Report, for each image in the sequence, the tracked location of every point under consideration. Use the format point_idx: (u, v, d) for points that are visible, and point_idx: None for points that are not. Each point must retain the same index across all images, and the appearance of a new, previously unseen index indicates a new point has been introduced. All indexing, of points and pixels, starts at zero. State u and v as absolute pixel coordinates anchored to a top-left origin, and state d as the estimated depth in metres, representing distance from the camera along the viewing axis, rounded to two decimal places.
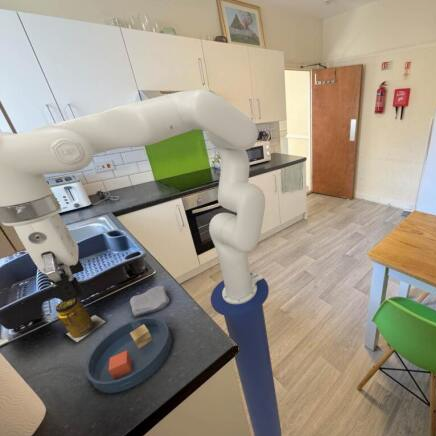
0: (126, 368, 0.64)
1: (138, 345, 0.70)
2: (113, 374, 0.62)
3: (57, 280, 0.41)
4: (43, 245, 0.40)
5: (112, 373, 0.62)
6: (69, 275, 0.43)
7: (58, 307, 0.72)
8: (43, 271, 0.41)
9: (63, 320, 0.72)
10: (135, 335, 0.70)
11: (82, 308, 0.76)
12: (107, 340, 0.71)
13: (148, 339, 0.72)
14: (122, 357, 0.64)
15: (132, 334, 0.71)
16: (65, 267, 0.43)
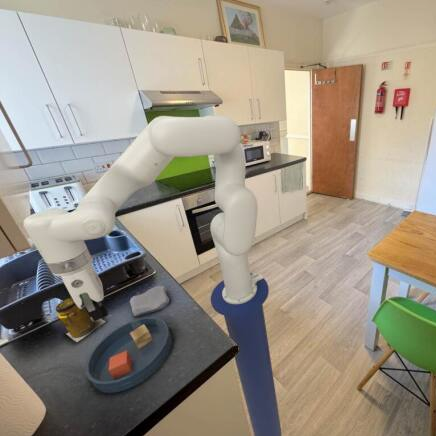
0: (126, 368, 0.64)
1: (138, 345, 0.70)
2: (113, 374, 0.62)
3: None
4: (81, 288, 0.55)
5: (112, 373, 0.62)
6: (99, 305, 0.61)
7: (58, 307, 0.72)
8: (80, 307, 0.56)
9: (63, 320, 0.72)
10: (135, 335, 0.70)
11: None
12: (107, 340, 0.71)
13: (148, 339, 0.72)
14: (122, 357, 0.64)
15: (132, 334, 0.71)
16: None
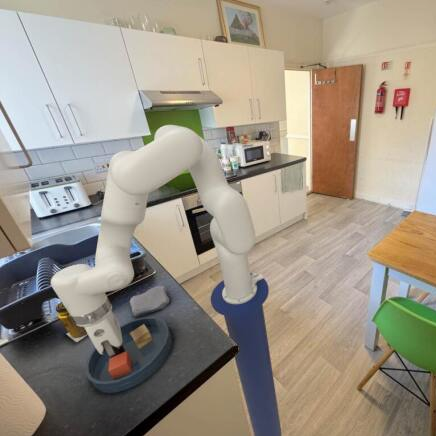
0: (126, 369, 0.64)
1: (138, 345, 0.70)
2: (113, 375, 0.62)
3: None
4: (102, 337, 0.59)
5: (112, 374, 0.62)
6: (118, 347, 0.65)
7: (58, 307, 0.72)
8: (101, 353, 0.60)
9: (63, 320, 0.72)
10: (135, 335, 0.70)
11: None
12: None
13: (148, 339, 0.72)
14: (122, 358, 0.64)
15: (132, 334, 0.71)
16: None
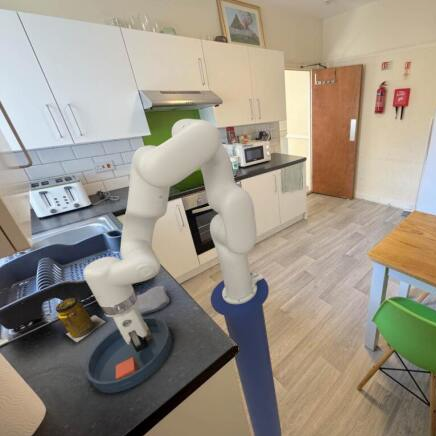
0: None
1: None
2: None
3: None
4: (130, 327, 0.61)
5: None
6: (142, 338, 0.67)
7: (58, 307, 0.72)
8: (128, 343, 0.62)
9: (63, 320, 0.72)
10: None
11: (82, 308, 0.76)
12: (107, 340, 0.71)
13: (148, 337, 0.73)
14: (129, 364, 0.62)
15: None
16: None
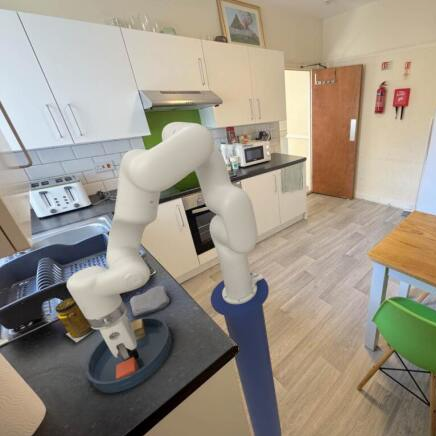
0: None
1: None
2: None
3: None
4: (117, 340, 0.58)
5: None
6: (132, 350, 0.64)
7: (58, 308, 0.72)
8: (116, 356, 0.59)
9: (63, 320, 0.72)
10: None
11: None
12: None
13: (141, 335, 0.74)
14: (129, 364, 0.62)
15: None
16: None
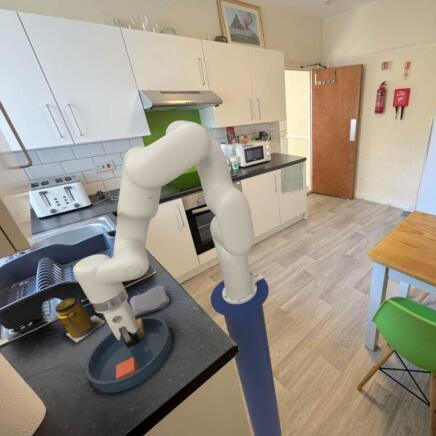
0: None
1: None
2: None
3: None
4: (120, 323, 0.62)
5: None
6: (133, 334, 0.68)
7: (58, 308, 0.72)
8: (118, 339, 0.63)
9: (63, 320, 0.72)
10: None
11: (82, 308, 0.76)
12: (107, 340, 0.71)
13: (140, 334, 0.74)
14: (129, 364, 0.62)
15: None
16: None
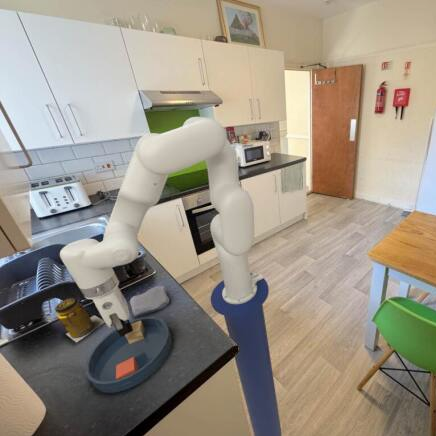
0: None
1: (129, 340, 0.72)
2: None
3: None
4: (110, 310, 0.60)
5: None
6: (126, 322, 0.67)
7: (57, 308, 0.72)
8: (109, 326, 0.61)
9: (63, 320, 0.72)
10: None
11: (82, 308, 0.75)
12: (107, 340, 0.71)
13: (139, 337, 0.73)
14: (129, 364, 0.62)
15: None
16: None
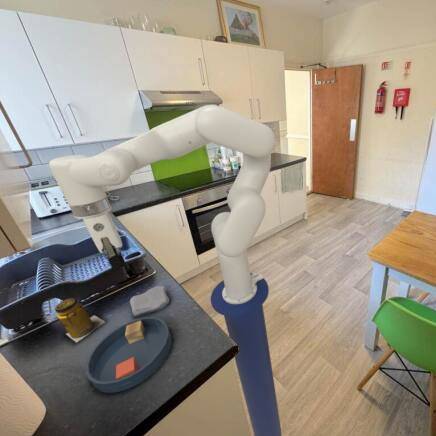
0: None
1: (129, 340, 0.72)
2: None
3: None
4: (102, 232, 0.58)
5: None
6: (118, 253, 0.64)
7: (57, 308, 0.72)
8: (101, 251, 0.59)
9: (62, 320, 0.72)
10: (128, 330, 0.72)
11: (82, 308, 0.75)
12: (107, 340, 0.71)
13: (139, 337, 0.73)
14: (129, 364, 0.62)
15: (127, 328, 0.73)
16: (115, 248, 0.63)
